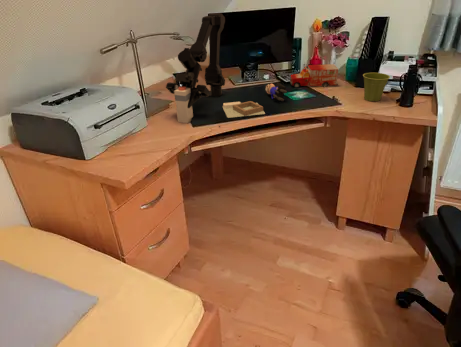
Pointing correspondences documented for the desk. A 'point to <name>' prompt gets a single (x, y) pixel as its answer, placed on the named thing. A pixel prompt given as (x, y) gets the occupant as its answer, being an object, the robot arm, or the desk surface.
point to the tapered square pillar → (183, 104)
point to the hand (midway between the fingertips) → (182, 107)
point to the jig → (244, 109)
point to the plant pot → (374, 85)
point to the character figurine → (276, 91)
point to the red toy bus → (316, 76)
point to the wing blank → (230, 104)
